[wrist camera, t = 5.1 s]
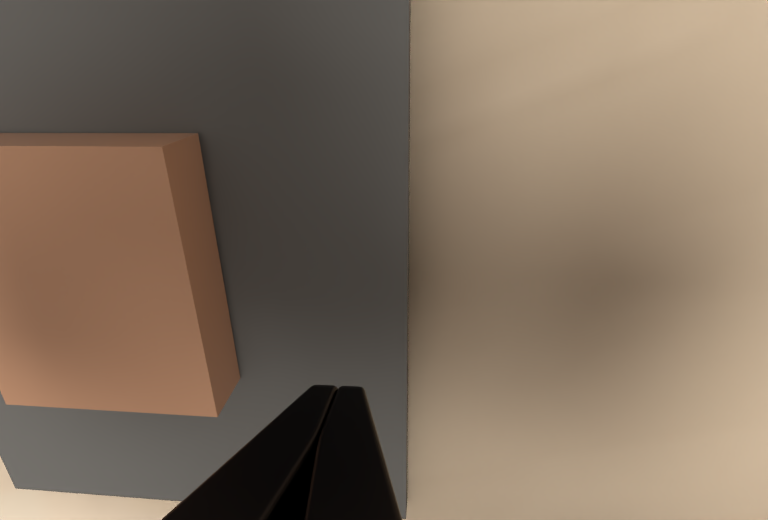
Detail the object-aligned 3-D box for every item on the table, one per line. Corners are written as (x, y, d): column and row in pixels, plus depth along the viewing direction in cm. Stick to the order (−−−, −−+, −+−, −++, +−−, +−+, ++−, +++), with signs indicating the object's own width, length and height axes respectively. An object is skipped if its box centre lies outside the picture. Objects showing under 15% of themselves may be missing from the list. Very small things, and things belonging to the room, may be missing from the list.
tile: (217, 417, 12) (6, 404, 13) (241, 376, 14) (50, 367, 14) (161, 146, 10) (-107, 145, 10) (199, 132, 11) (-37, 132, 12)
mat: (406, 503, 16) (405, 518, 16) (28, 474, 18) (15, 488, 17) (410, -48, 10) (409, -53, 9) (-195, -27, 11) (-228, -31, 10)
